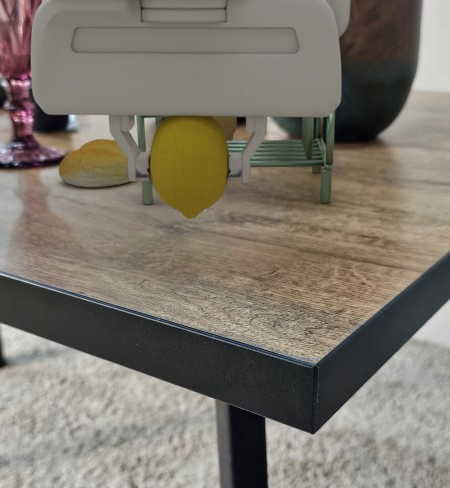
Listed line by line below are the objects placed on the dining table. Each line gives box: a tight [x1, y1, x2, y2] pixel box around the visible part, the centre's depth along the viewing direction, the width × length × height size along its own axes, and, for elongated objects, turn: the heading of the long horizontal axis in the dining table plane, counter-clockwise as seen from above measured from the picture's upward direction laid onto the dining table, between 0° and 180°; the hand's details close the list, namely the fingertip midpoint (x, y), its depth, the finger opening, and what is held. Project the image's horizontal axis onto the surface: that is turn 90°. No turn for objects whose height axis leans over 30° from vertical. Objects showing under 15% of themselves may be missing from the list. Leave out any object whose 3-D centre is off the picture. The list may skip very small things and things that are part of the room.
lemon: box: [149, 116, 230, 220], centre depth 51 cm, size 6×6×8 cm
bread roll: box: [58, 138, 130, 188], centre depth 80 cm, size 8×9×4 cm
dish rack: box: [135, 109, 336, 205], centre depth 74 cm, size 18×13×11 cm
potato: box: [212, 117, 238, 141], centre depth 88 cm, size 7×8×8 cm
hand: (189, 180), depth 52 cm, fingers closed on lemon, 5 cm apart
